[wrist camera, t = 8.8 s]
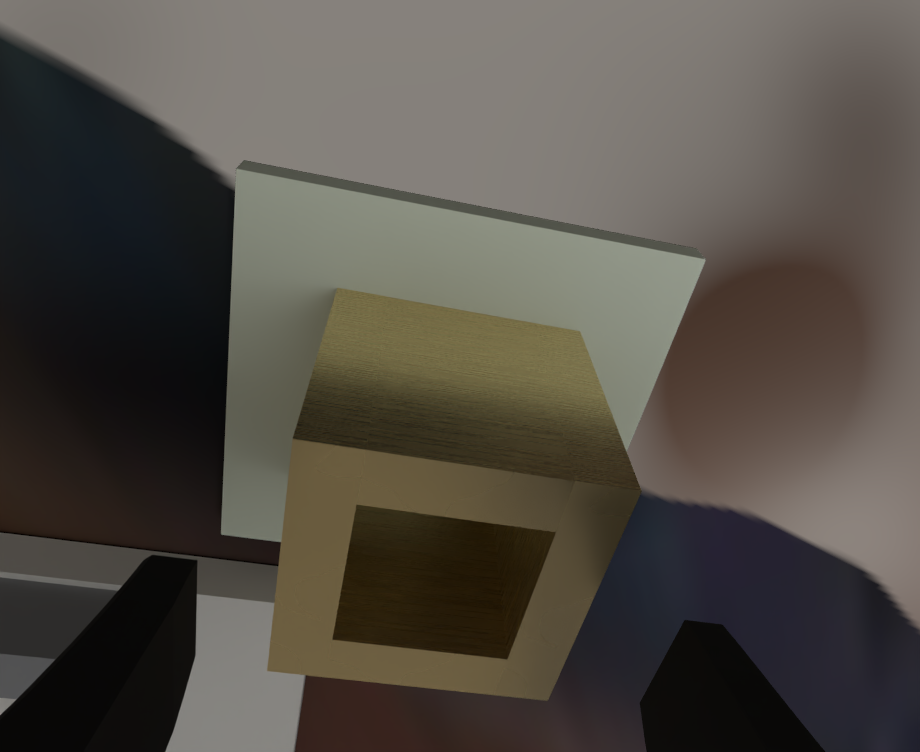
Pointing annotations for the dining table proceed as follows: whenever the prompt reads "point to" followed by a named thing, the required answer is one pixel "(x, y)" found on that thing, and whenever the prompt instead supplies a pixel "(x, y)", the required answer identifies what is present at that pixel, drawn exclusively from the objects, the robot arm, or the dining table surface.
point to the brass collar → (446, 501)
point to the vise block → (217, 637)
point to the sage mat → (420, 280)
